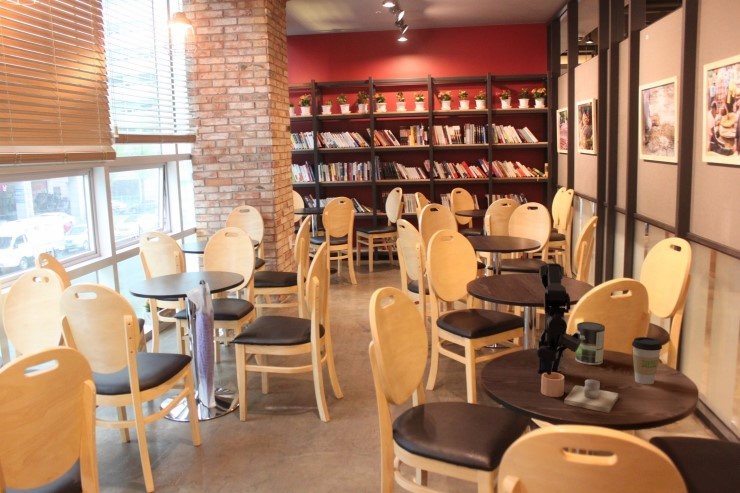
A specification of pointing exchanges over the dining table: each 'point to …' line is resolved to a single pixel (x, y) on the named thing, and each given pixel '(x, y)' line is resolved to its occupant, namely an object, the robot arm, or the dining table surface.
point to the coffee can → (590, 343)
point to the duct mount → (591, 397)
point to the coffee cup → (645, 359)
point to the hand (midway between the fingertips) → (553, 370)
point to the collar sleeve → (552, 384)
